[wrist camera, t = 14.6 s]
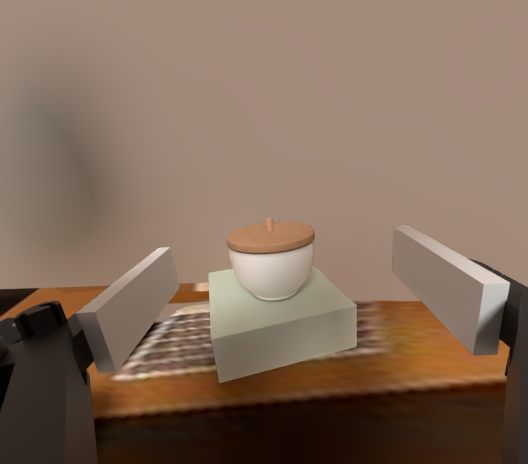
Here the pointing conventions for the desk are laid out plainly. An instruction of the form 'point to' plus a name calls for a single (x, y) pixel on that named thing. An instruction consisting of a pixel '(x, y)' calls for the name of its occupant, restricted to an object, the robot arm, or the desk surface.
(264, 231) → the lidded jar
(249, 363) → the sage box
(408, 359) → the desk surface
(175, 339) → the desk surface
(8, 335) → the cell phone
